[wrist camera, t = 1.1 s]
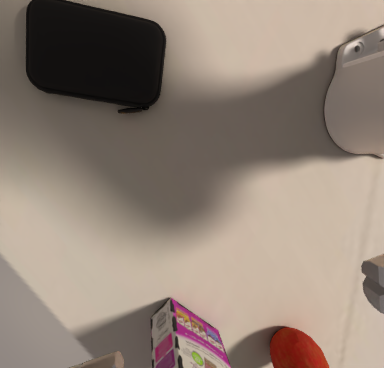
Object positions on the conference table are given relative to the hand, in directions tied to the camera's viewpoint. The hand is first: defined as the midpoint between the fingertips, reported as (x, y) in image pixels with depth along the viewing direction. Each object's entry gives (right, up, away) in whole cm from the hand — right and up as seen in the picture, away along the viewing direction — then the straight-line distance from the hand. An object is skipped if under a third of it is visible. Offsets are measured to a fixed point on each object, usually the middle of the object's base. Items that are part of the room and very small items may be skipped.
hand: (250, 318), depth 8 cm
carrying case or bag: (-13, +19, +23) cm, 32 cm away
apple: (+14, -23, +38) cm, 46 cm away
